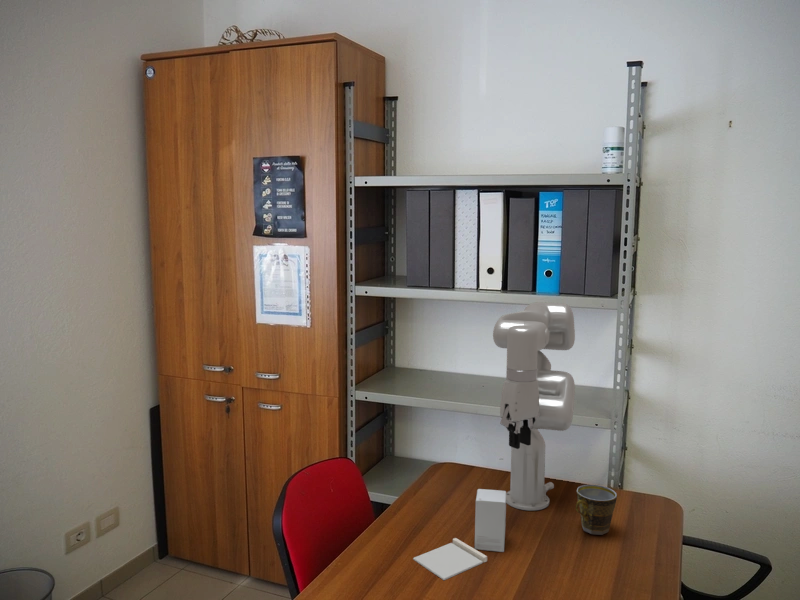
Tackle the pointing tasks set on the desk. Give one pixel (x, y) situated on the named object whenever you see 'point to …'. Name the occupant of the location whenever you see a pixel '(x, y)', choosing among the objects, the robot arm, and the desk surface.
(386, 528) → the desk surface
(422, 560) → the mat
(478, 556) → the strip
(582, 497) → the ceramic cup
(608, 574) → the desk surface
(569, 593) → the desk surface
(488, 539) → the supplement box
